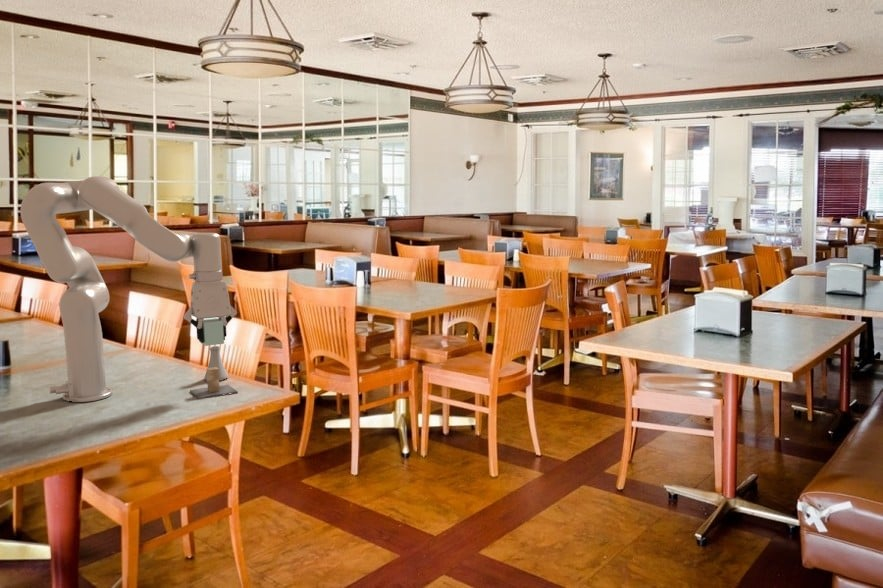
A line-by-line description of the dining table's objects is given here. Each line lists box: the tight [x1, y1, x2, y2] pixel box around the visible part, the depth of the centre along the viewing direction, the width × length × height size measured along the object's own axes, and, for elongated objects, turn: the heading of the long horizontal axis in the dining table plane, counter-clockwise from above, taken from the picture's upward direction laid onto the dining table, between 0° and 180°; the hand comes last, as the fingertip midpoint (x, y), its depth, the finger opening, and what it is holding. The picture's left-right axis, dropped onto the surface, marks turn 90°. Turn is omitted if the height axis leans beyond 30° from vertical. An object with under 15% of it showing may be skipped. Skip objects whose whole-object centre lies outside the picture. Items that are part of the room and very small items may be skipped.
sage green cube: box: [199, 317, 225, 347], centre depth 215 cm, size 5×5×7 cm
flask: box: [203, 345, 229, 382], centre depth 232 cm, size 7×7×10 cm
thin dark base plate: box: [189, 367, 239, 400], centre depth 217 cm, size 11×9×7 cm
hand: (212, 340), depth 215 cm, fingers closed on sage green cube, 5 cm apart
